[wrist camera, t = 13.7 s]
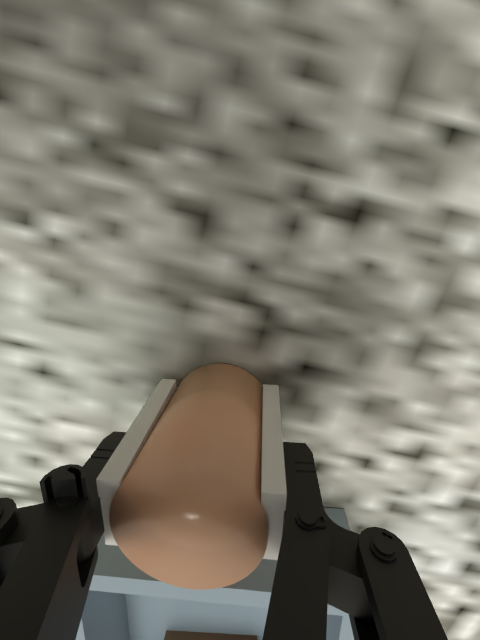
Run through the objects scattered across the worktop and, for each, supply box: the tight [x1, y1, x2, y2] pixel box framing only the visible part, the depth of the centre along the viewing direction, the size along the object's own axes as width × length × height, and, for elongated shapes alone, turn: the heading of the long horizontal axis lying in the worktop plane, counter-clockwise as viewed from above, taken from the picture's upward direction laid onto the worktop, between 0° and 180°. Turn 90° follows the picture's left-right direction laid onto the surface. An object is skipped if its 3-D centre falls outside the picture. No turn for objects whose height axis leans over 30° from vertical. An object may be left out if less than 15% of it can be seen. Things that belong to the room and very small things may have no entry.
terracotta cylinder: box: [109, 363, 268, 590], centre depth 13 cm, size 5×5×7 cm
